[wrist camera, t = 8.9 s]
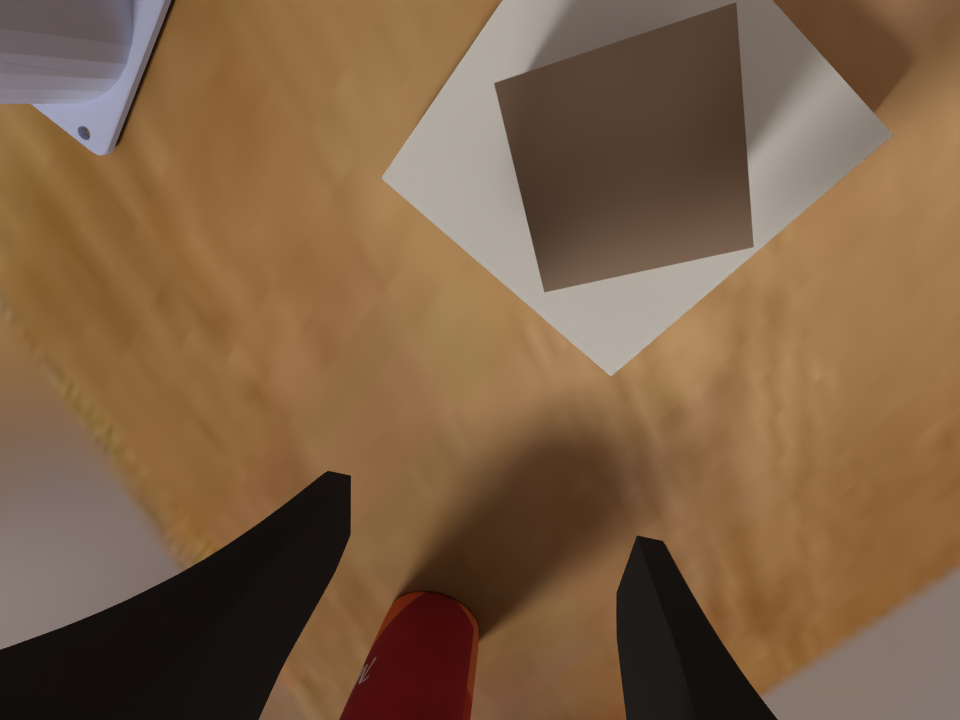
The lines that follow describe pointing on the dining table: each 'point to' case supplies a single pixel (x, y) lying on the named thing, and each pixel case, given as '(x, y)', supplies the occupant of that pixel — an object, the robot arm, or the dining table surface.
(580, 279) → the walnut block
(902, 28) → the dining table surface
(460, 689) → the paper cup
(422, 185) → the stoneware tile
